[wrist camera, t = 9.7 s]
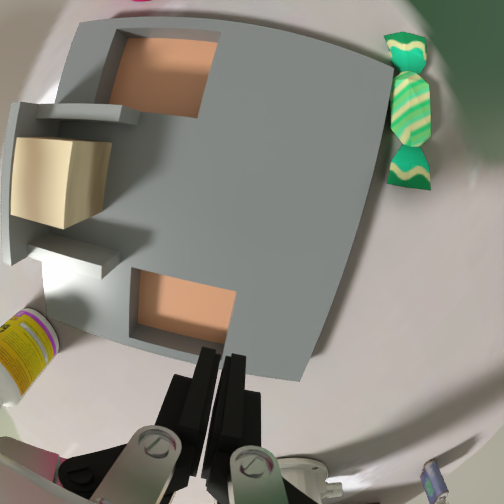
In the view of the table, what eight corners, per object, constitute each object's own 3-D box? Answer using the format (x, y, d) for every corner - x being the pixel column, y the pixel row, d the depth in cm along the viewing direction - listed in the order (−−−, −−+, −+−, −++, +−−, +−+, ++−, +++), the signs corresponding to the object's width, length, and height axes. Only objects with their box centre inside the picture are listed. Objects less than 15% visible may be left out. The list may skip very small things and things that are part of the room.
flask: (424, 462, 35) (441, 503, 25) (437, 455, 35) (456, 496, 24) (418, 478, 38) (432, 515, 27) (430, 473, 37) (445, 509, 27)
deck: (380, 75, 18) (430, 48, 11) (296, 363, 26) (306, 424, 19) (93, 31, 16) (45, 2, 9) (60, 305, 24) (18, 344, 17)
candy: (430, 188, 20) (430, 191, 17) (391, 182, 22) (384, 184, 18) (427, 51, 16) (424, 31, 13) (389, 49, 18) (380, 29, 15)
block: (112, 142, 17) (72, 141, 13) (102, 212, 19) (63, 229, 14) (59, 137, 17) (16, 137, 12) (52, 200, 18) (10, 214, 14)
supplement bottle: (30, 295, 24) (-45, 360, 12) (69, 341, 26) (7, 421, 13) (13, 322, 25) (-48, 382, 13) (48, 362, 27) (-4, 431, 15)
